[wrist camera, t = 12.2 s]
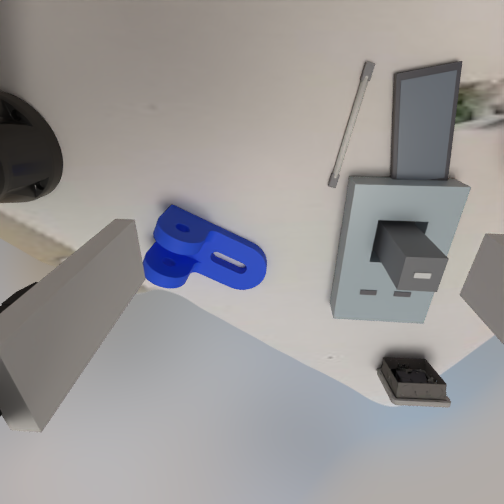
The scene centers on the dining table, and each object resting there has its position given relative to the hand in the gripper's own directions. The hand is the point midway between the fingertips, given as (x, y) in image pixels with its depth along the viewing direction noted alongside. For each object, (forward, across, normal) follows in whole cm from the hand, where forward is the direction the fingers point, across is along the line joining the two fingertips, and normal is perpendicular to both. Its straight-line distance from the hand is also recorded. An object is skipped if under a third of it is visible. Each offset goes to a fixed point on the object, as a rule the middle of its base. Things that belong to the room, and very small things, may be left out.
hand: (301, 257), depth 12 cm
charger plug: (+32, +17, -13) cm, 38 cm away
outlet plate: (+32, +17, -16) cm, 40 cm away
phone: (+32, +17, +1) cm, 37 cm away
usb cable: (+32, +8, +1) cm, 34 cm away
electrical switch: (+32, +25, -40) cm, 57 cm away
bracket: (+33, -10, -18) cm, 39 cm away
